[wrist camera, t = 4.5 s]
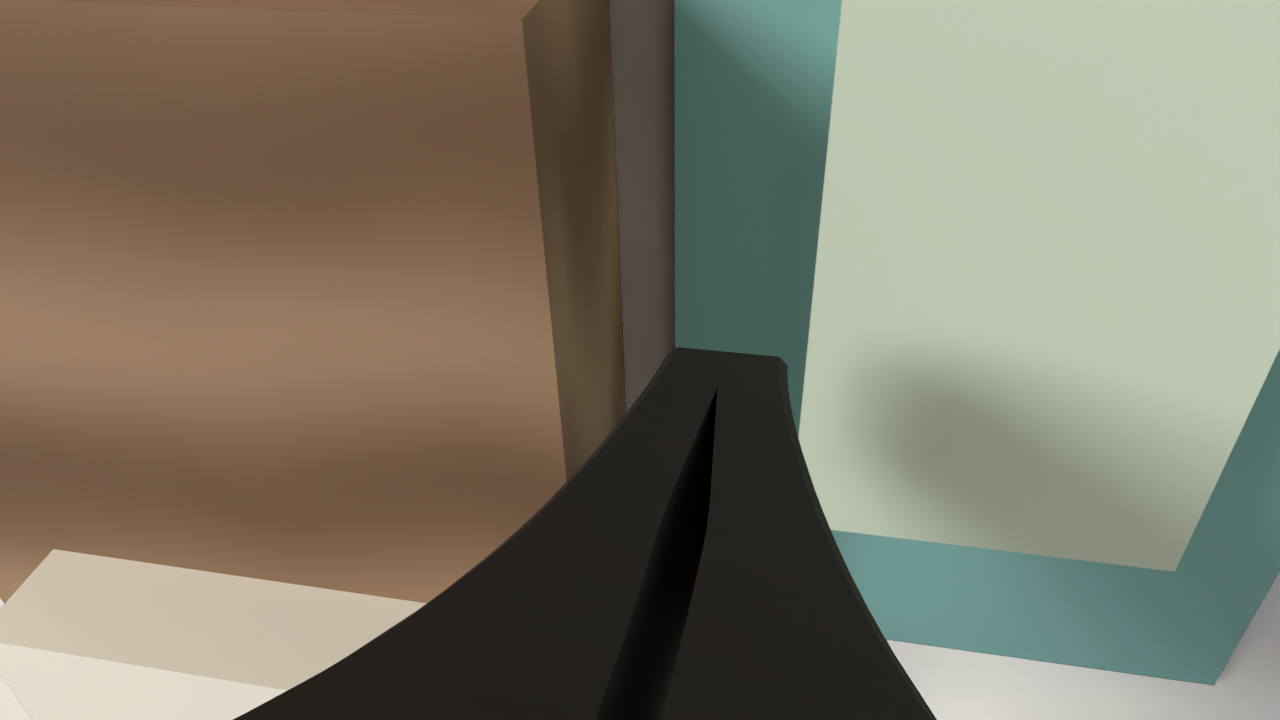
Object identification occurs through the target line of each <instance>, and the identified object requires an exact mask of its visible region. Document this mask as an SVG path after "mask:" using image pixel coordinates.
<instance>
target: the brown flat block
mask: <svg viewBox="0 0 1280 720" xmlns="http://www.w3.org/2000/svg"><path fill="white" fill-rule="evenodd" d="M625 415H626V400H625V376H624V353H623V329H622V306H621V282H620V259H619V235H618V211H617V188H616V164H615V141H614V117H613V94H612V70H611V47H610V23H609V0H0V598H1V599H2V601H3V602H4V604H5V603H6V602H7V601H8V599H9V598H10V597H11V596H12V595H13V594H14V593H15V592H16V590H17V589H18V588H19V587H20V586H21V585H22V584H23V583H24V582H25V580H26V579H27V578H28V577H29V576H30V575H31V574H32V573H33V571H34V570H35V569H36V568H37V567H38V566H39V565H40V564H41V562H42V561H43V560H44V559H45V558H46V557H47V556H48V555H49V553H50V552H51V551H52V550H53V549H56V550H63V551H70V552H77V553H83V554H90V555H97V556H104V557H111V558H118V559H125V560H132V561H138V562H145V563H152V564H159V565H166V566H173V567H180V568H187V569H194V570H200V571H207V572H214V573H221V574H228V575H235V576H242V577H249V578H255V579H262V580H269V581H276V582H283V583H290V584H297V585H304V586H311V587H317V588H324V589H331V590H338V591H345V592H352V593H359V594H366V595H372V596H379V597H386V598H393V599H400V600H407V601H414V602H421V603H428V602H429V601H431V600H432V599H433V598H435V597H436V596H437V595H439V594H440V593H442V592H443V591H444V590H446V589H447V588H448V587H449V586H451V585H452V584H453V583H454V582H456V581H457V580H458V579H459V578H461V577H462V576H463V575H465V574H466V573H467V572H468V571H470V570H471V569H472V568H473V567H475V566H476V565H477V564H479V563H480V562H481V561H482V560H484V559H485V558H486V557H487V556H488V555H490V554H491V553H492V552H493V551H494V550H495V549H497V548H498V547H499V546H500V545H501V544H502V543H503V542H505V541H506V540H507V539H508V538H509V537H510V536H512V535H513V534H514V533H515V532H516V531H517V530H518V529H519V528H520V527H522V526H523V525H524V524H525V523H526V522H527V521H528V520H529V519H530V518H531V517H532V516H533V515H534V514H535V513H536V512H537V511H539V510H540V509H541V508H542V507H543V506H544V505H545V504H546V503H547V502H548V501H549V500H550V499H551V498H552V497H553V496H554V495H555V493H556V492H557V491H558V490H559V489H560V488H561V487H562V486H563V485H564V484H565V483H566V482H567V481H568V480H569V479H570V478H571V477H572V476H573V475H574V474H575V472H576V471H577V470H578V469H579V468H580V467H581V466H582V465H583V464H584V463H585V462H586V461H587V460H588V459H589V457H590V456H591V455H592V454H593V453H594V452H595V451H596V449H597V448H598V447H599V446H600V445H601V443H602V442H603V441H604V440H605V439H606V437H607V436H608V435H609V434H610V433H611V431H612V430H613V429H614V428H615V427H616V425H617V424H618V423H619V422H620V421H621V419H622V418H623V417H624V416H625Z"/></svg>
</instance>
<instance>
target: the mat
mask: <svg viewBox="0 0 1280 720" xmlns="http://www.w3.org/2000/svg"><path fill="white" fill-rule="evenodd" d="M841 2H842V0H674V91H675V349H676V348H677V347H681V348H692V349H703V350H713V351H724V352H735V353H745V354H756V355H767V356H777V357H780V358H781V359H782V360H783V361H784V362H785V363H786V364H787V365H788V370H787V378H788V390H789V398H790V403H791V409H792V414H793V418H794V422H795V427H796V431H797V435H798V433H799V423H800V413H801V403H802V393H803V383H804V372H805V362H806V352H807V342H808V332H809V322H810V312H811V302H812V292H813V282H814V272H815V262H816V252H817V242H818V232H819V222H820V212H821V202H822V192H823V182H824V172H825V162H826V152H827V142H828V132H829V122H830V112H831V102H832V92H833V82H834V72H835V62H836V52H837V42H838V32H839V22H840V12H841ZM831 532H832V534H833V536H834V539H835V541H836V544H837V546H838V548H839V550H840V552H841V555H842V557H843V559H844V561H845V563H846V565H847V567H848V570H849V572H850V574H851V576H852V578H853V580H854V582H855V584H856V586H857V588H858V590H859V591H860V593H861V595H862V597H863V599H864V601H865V603H866V605H867V607H868V609H869V611H870V612H871V614H872V616H873V618H874V620H875V621H876V623H877V625H878V627H879V628H880V630H881V632H882V634H883V635H884V637H885V639H886V640H894V641H901V642H908V643H915V644H922V645H929V646H936V647H943V648H951V649H958V650H965V651H972V652H979V653H986V654H993V655H1001V656H1008V657H1015V658H1022V659H1029V660H1036V661H1043V662H1050V663H1058V664H1065V665H1072V666H1079V667H1086V668H1093V669H1100V670H1108V671H1115V672H1122V673H1129V674H1136V675H1143V676H1150V677H1158V678H1165V679H1172V680H1179V681H1186V682H1193V683H1200V684H1207V685H1214V684H1215V683H1216V681H1217V679H1218V677H1219V676H1220V674H1221V672H1222V670H1223V669H1224V667H1225V665H1226V663H1227V662H1228V660H1229V658H1230V656H1231V655H1232V653H1233V651H1234V649H1235V648H1236V646H1237V644H1238V642H1239V641H1240V639H1241V637H1242V635H1243V634H1244V632H1245V630H1246V628H1247V627H1248V625H1249V623H1250V621H1251V620H1252V618H1253V616H1254V614H1255V613H1256V611H1257V609H1258V607H1259V606H1260V604H1261V602H1262V600H1263V599H1264V597H1265V595H1266V593H1267V592H1268V590H1269V588H1270V586H1271V585H1272V583H1273V581H1274V580H1275V578H1276V576H1277V574H1278V573H1279V571H1280V349H1279V351H1278V354H1277V356H1276V358H1275V360H1274V362H1273V364H1272V366H1271V368H1270V370H1269V373H1268V375H1267V377H1266V379H1265V381H1264V383H1263V385H1262V387H1261V390H1260V392H1259V394H1258V396H1257V398H1256V400H1255V402H1254V404H1253V407H1252V409H1251V411H1250V413H1249V415H1248V417H1247V419H1246V421H1245V424H1244V426H1243V428H1242V430H1241V432H1240V434H1239V436H1238V438H1237V441H1236V443H1235V445H1234V447H1233V449H1232V451H1231V453H1230V455H1229V458H1228V460H1227V462H1226V464H1225V466H1224V468H1223V470H1222V472H1221V475H1220V477H1219V479H1218V481H1217V483H1216V485H1215V487H1214V489H1213V492H1212V494H1211V496H1210V498H1209V500H1208V502H1207V504H1206V506H1205V509H1204V511H1203V513H1202V515H1201V517H1200V519H1199V521H1198V523H1197V526H1196V528H1195V530H1194V532H1193V534H1192V536H1191V538H1190V540H1189V543H1188V545H1187V547H1186V549H1185V551H1184V553H1183V555H1182V557H1181V560H1180V562H1179V564H1178V566H1177V568H1176V570H1175V572H1173V571H1165V570H1157V569H1149V568H1140V567H1132V566H1124V565H1116V564H1108V563H1099V562H1091V561H1083V560H1075V559H1067V558H1058V557H1050V556H1042V555H1034V554H1026V553H1017V552H1009V551H1001V550H993V549H985V548H976V547H968V546H960V545H952V544H944V543H935V542H927V541H919V540H911V539H902V538H894V537H886V536H878V535H870V534H861V533H853V532H845V531H837V530H831Z"/></svg>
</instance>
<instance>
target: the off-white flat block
mask: <svg viewBox="0 0 1280 720" xmlns="http://www.w3.org/2000/svg"><path fill="white" fill-rule="evenodd" d="M425 604H427V603H421V602H414V601H407V600H400V599H393V598H386V597H379V596H372V595H366V594H359V593H352V592H345V591H338V590H331V589H324V588H317V587H311V586H304V585H297V584H290V583H283V582H276V581H269V580H262V579H255V578H249V577H242V576H235V575H228V574H221V573H214V572H207V571H200V570H194V569H187V568H180V567H173V566H166V565H159V564H152V563H145V562H138V561H132V560H125V559H118V558H111V557H104V556H97V555H90V554H83V553H77V552H70V551H63V550H56V549H53V550H52V551H51V552H50V553H49V555H48V556H47V557H46V558H45V559H44V560H43V561H42V562H41V564H40V565H39V566H38V567H37V568H36V569H35V570H34V571H33V573H32V574H31V575H30V576H29V577H28V578H27V579H26V580H25V582H24V583H23V584H22V585H21V586H20V587H19V588H18V589H17V590H16V592H15V593H14V594H13V595H12V596H11V597H10V598H9V599H8V601H7V602H6V603H5V604H4V605H3V606H2V607H1V608H0V676H1V677H2V679H3V680H4V682H5V683H6V684H7V686H8V687H9V689H10V690H11V691H12V693H13V694H14V696H15V697H16V698H17V700H18V701H19V702H20V704H21V705H22V707H23V708H24V709H25V711H26V712H27V714H28V715H29V716H30V718H31V719H32V720H233V719H235V718H237V717H239V716H241V715H243V714H245V713H247V712H249V711H250V710H252V709H254V708H256V707H258V706H260V705H262V704H263V703H265V702H267V701H269V700H271V699H273V698H274V697H276V696H278V695H280V694H282V693H284V692H285V691H287V690H289V689H291V688H293V687H295V686H297V685H298V684H300V683H302V682H304V681H306V680H308V679H309V678H311V677H313V676H315V675H317V674H319V673H320V672H322V671H324V670H326V669H327V668H329V667H330V666H332V665H334V664H335V663H337V662H339V661H340V660H342V659H344V658H345V657H347V656H348V655H350V654H352V653H353V652H355V651H356V650H358V649H359V648H361V647H362V646H364V645H365V644H367V643H368V642H370V641H371V640H373V639H374V638H376V637H377V636H379V635H381V634H382V633H384V632H385V631H387V630H388V629H390V628H391V627H393V626H394V625H396V624H397V623H399V622H400V621H402V620H403V619H405V618H406V617H408V616H410V615H411V614H413V613H414V612H415V611H417V610H418V609H420V608H421V607H422V606H424V605H425Z"/></svg>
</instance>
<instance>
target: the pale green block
mask: <svg viewBox="0 0 1280 720" xmlns="http://www.w3.org/2000/svg"><path fill="white" fill-rule="evenodd" d="M1279 349H1280V0H842V2H841V12H840V22H839V32H838V42H837V52H836V62H835V72H834V82H833V92H832V102H831V112H830V122H829V132H828V142H827V152H826V162H825V172H824V182H823V192H822V202H821V212H820V222H819V232H818V242H817V252H816V262H815V272H814V282H813V292H812V302H811V312H810V322H809V332H808V342H807V352H806V362H805V372H804V383H803V393H802V403H801V413H800V423H799V433H798V438H799V442H800V446H801V449H802V452H803V455H804V458H805V462H806V465H807V468H808V471H809V474H810V477H811V480H812V483H813V486H814V489H815V491H816V494H817V497H818V499H819V502H820V505H821V507H822V510H823V513H824V515H825V517H826V520H827V522H828V525H829V527H830V529H831V530H837V531H845V532H853V533H861V534H870V535H878V536H886V537H894V538H902V539H911V540H919V541H927V542H935V543H944V544H952V545H960V546H968V547H976V548H985V549H993V550H1001V551H1009V552H1017V553H1026V554H1034V555H1042V556H1050V557H1058V558H1067V559H1075V560H1083V561H1091V562H1099V563H1108V564H1116V565H1124V566H1132V567H1140V568H1149V569H1157V570H1165V571H1173V572H1175V570H1176V568H1177V566H1178V564H1179V562H1180V560H1181V557H1182V555H1183V553H1184V551H1185V549H1186V547H1187V545H1188V543H1189V540H1190V538H1191V536H1192V534H1193V532H1194V530H1195V528H1196V526H1197V523H1198V521H1199V519H1200V517H1201V515H1202V513H1203V511H1204V509H1205V506H1206V504H1207V502H1208V500H1209V498H1210V496H1211V494H1212V492H1213V489H1214V487H1215V485H1216V483H1217V481H1218V479H1219V477H1220V475H1221V472H1222V470H1223V468H1224V466H1225V464H1226V462H1227V460H1228V458H1229V455H1230V453H1231V451H1232V449H1233V447H1234V445H1235V443H1236V441H1237V438H1238V436H1239V434H1240V432H1241V430H1242V428H1243V426H1244V424H1245V421H1246V419H1247V417H1248V415H1249V413H1250V411H1251V409H1252V407H1253V404H1254V402H1255V400H1256V398H1257V396H1258V394H1259V392H1260V390H1261V387H1262V385H1263V383H1264V381H1265V379H1266V377H1267V375H1268V373H1269V370H1270V368H1271V366H1272V364H1273V362H1274V360H1275V358H1276V356H1277V354H1278V351H1279Z"/></svg>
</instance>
